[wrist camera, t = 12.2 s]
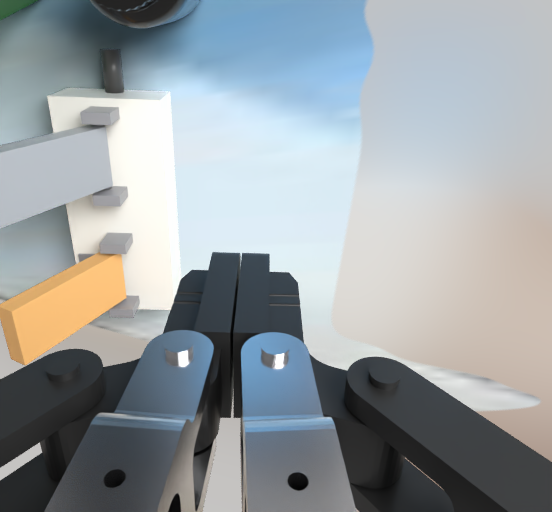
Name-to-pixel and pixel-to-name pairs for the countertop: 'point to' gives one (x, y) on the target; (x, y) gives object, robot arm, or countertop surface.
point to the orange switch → (61, 305)
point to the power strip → (128, 186)
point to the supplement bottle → (144, 11)
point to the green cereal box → (13, 6)
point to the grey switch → (52, 171)
